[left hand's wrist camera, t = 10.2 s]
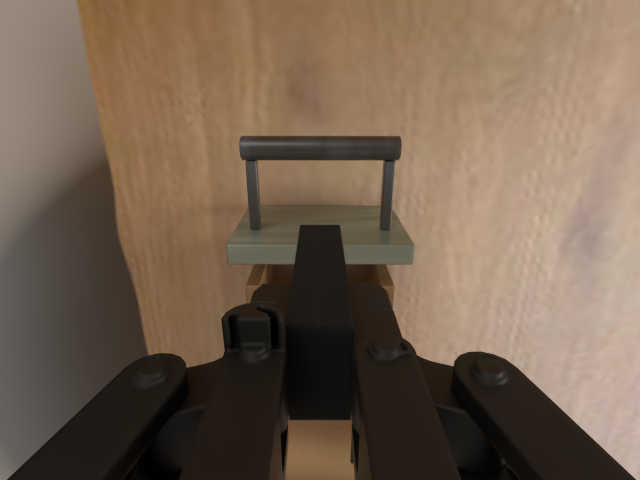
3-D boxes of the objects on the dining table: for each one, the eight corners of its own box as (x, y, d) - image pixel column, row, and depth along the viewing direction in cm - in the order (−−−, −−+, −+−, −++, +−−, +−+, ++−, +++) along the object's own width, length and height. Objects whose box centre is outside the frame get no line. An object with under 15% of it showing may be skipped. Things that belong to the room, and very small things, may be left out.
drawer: (243, 127, 26) (215, 141, 19) (396, 127, 26) (425, 141, 19) (262, 398, 34) (247, 477, 27) (377, 398, 34) (392, 477, 27)
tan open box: (250, 298, 32) (224, 379, 23) (389, 298, 32) (416, 379, 23) (263, 464, 39) (246, 575, 30) (376, 464, 39) (393, 575, 30)
